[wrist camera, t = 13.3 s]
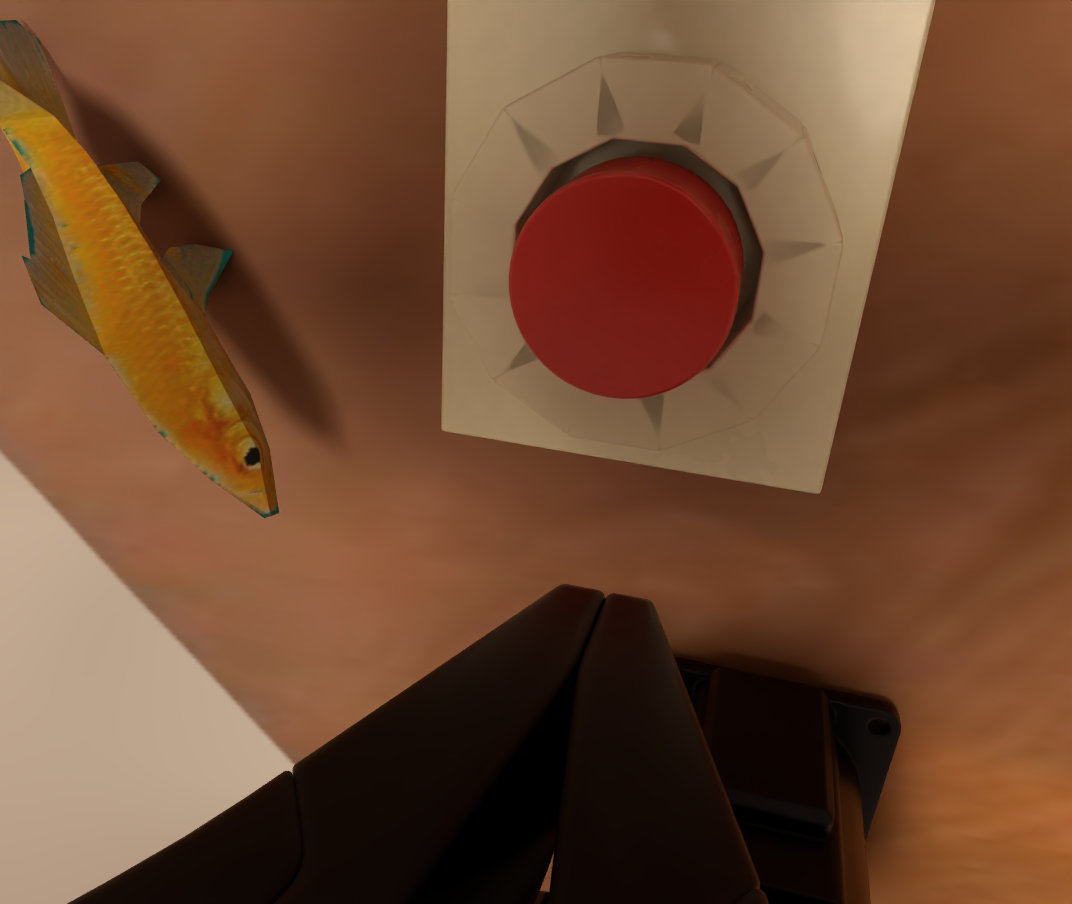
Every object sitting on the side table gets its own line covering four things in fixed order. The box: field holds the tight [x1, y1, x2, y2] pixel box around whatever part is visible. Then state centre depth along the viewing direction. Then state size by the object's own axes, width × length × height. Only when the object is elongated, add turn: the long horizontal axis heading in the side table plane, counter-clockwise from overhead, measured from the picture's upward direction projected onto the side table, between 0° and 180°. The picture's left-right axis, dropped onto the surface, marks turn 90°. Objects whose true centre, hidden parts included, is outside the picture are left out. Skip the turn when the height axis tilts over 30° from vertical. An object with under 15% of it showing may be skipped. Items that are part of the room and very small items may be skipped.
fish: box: [0, 20, 279, 518], centre depth 19 cm, size 12×2×5 cm, turn 34°
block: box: [441, 0, 936, 494], centre depth 17 cm, size 9×8×4 cm
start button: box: [509, 156, 744, 399], centre depth 15 cm, size 4×4×2 cm
